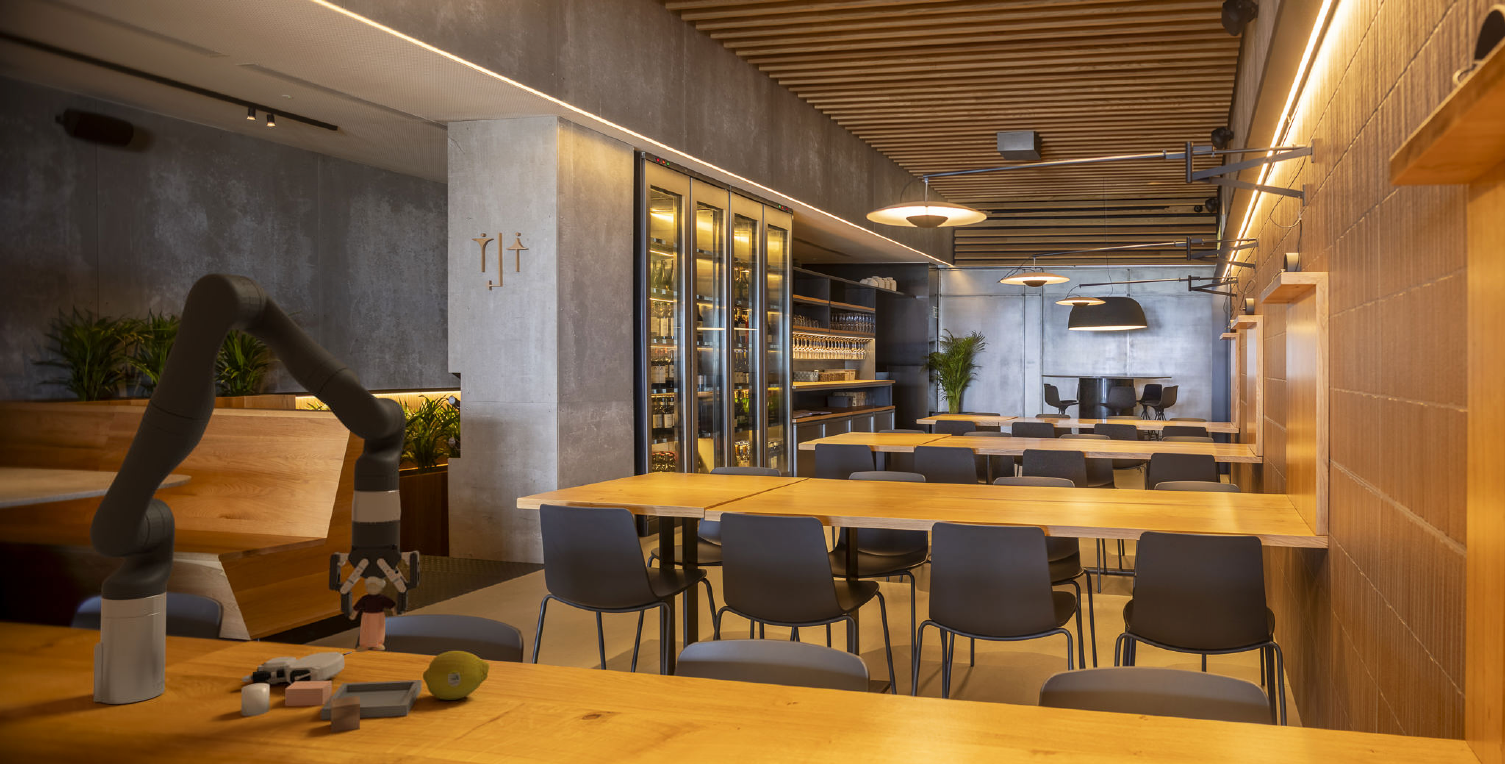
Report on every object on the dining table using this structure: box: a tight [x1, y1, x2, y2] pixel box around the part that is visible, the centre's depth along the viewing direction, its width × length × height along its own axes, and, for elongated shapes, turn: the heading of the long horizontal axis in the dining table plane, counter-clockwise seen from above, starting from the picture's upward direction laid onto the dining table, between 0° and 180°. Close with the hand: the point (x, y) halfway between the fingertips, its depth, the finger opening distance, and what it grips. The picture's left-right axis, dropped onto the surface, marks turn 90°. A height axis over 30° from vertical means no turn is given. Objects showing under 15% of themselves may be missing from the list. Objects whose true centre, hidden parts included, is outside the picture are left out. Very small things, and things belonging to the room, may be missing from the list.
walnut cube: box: [330, 696, 361, 734], centre depth 142 cm, size 4×4×4 cm
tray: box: [320, 679, 423, 721], centre depth 153 cm, size 13×13×2 cm
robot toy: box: [241, 650, 353, 685], centre depth 164 cm, size 12×4×15 cm
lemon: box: [422, 650, 490, 701], centre depth 156 cm, size 11×8×8 cm
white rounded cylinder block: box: [240, 682, 271, 717], centre depth 148 cm, size 4×4×4 cm
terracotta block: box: [284, 680, 333, 707], centre depth 154 cm, size 6×4×3 cm, turn 95°
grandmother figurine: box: [348, 576, 398, 653], centre depth 153 cm, size 8×4×13 cm, turn 117°
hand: (374, 614), depth 153 cm, fingers closed on grandmother figurine, 8 cm apart
